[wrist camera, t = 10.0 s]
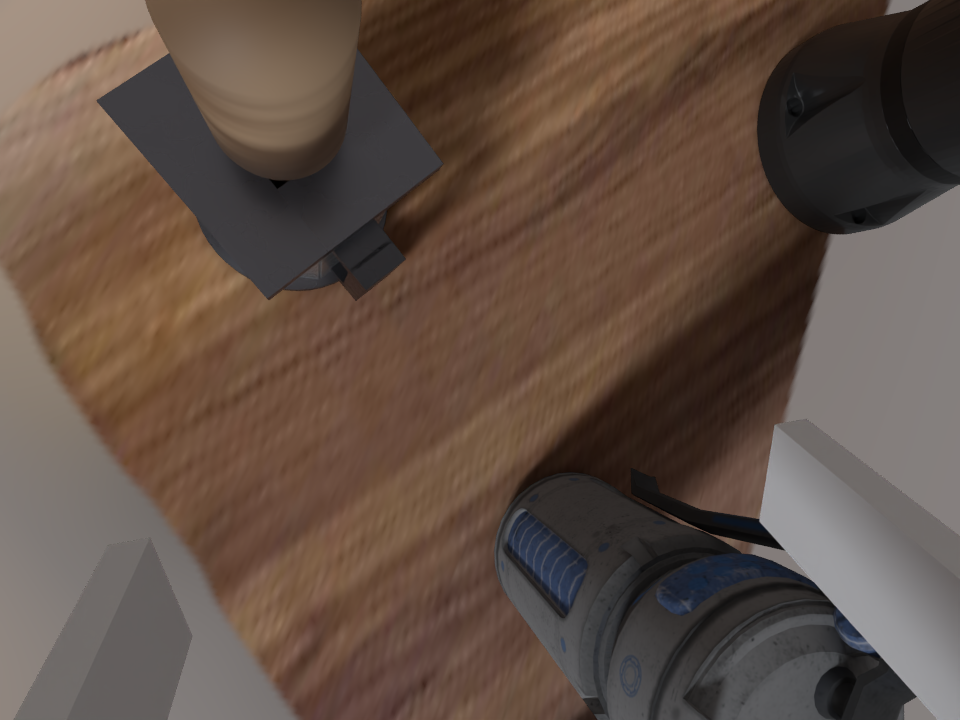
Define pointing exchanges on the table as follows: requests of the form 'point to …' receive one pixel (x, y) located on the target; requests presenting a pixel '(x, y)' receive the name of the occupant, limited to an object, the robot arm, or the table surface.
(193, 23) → the plunger
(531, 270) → the table surface
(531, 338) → the table surface
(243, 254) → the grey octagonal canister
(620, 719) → the beverage bottle
